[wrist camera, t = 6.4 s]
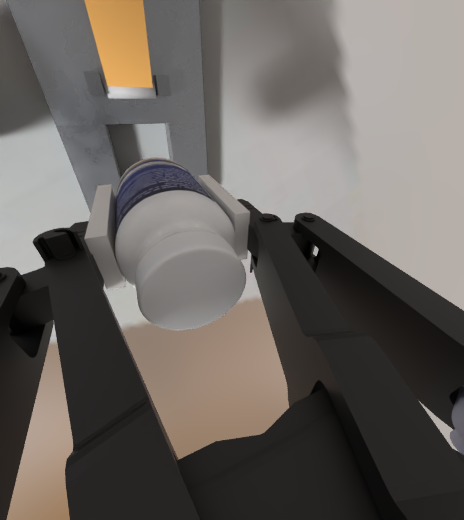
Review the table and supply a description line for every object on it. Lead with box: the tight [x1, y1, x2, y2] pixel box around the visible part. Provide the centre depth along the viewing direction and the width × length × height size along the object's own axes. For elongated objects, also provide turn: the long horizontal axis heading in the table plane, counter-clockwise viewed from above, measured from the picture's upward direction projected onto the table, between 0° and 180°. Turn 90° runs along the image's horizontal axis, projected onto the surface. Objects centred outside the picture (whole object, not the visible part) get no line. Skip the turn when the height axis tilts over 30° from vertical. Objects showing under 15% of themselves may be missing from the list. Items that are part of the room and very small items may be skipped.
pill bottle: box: [115, 158, 246, 330], centre depth 11 cm, size 5×5×10 cm
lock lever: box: [85, 0, 156, 99], centre depth 18 cm, size 4×10×1 cm, turn 179°
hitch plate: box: [7, 0, 208, 213], centre depth 23 cm, size 15×22×5 cm
